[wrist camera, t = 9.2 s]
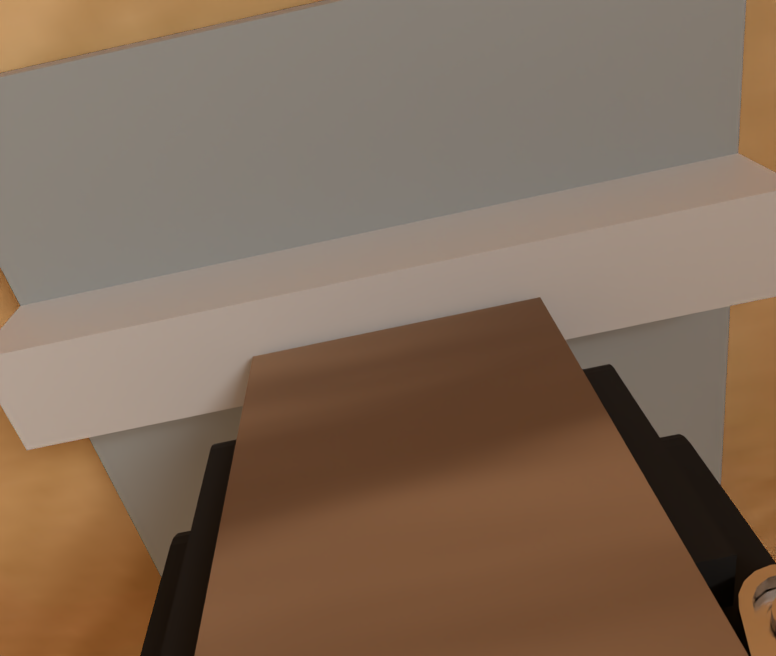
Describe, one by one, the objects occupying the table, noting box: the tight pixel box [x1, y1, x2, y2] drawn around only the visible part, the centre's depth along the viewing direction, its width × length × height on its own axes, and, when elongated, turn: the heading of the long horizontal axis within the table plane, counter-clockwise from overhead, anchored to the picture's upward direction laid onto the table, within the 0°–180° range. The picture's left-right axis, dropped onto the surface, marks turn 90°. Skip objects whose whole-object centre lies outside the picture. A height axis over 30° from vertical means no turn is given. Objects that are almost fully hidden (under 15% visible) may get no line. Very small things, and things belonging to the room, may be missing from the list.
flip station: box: [0, 0, 776, 577], centre depth 16 cm, size 20×14×3 cm
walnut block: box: [194, 297, 748, 656], centre depth 9 cm, size 4×5×8 cm
